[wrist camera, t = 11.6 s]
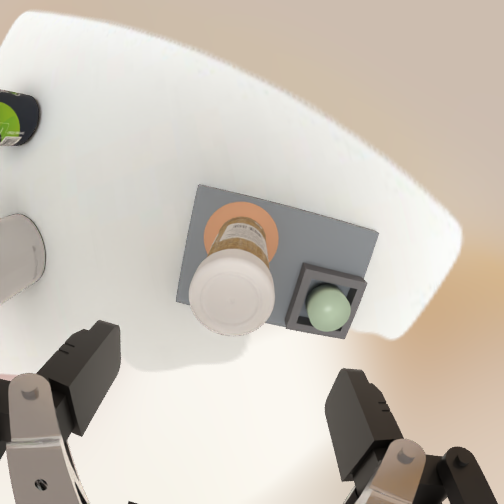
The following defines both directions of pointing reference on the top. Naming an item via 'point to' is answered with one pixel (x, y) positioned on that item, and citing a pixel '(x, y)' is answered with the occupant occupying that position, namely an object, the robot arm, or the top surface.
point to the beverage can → (17, 118)
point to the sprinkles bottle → (234, 280)
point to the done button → (327, 308)
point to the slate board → (285, 253)
